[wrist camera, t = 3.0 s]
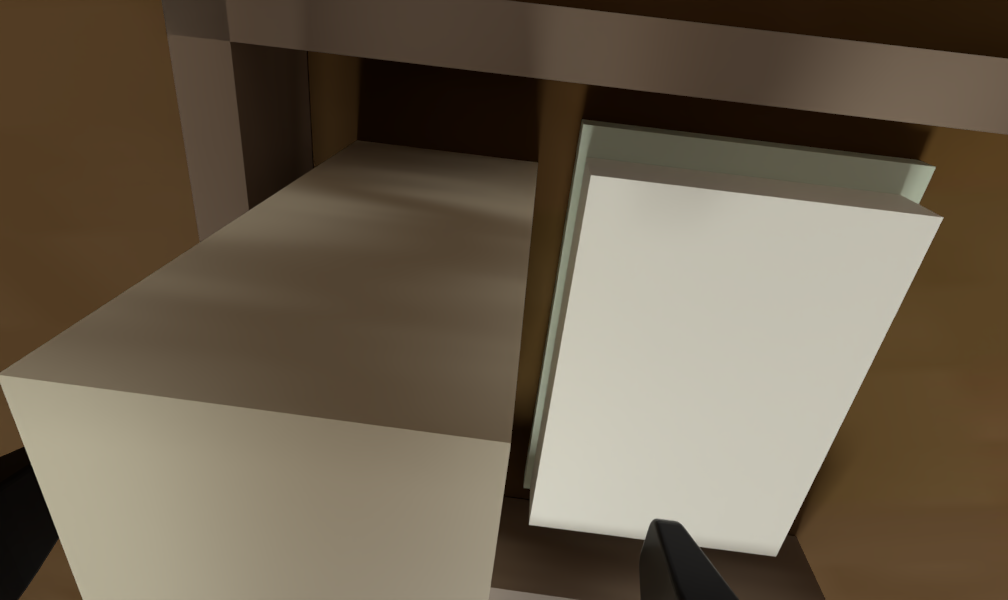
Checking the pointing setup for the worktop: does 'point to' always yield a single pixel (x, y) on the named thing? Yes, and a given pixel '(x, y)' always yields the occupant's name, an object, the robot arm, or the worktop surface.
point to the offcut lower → (718, 158)
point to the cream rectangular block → (298, 394)
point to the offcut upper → (712, 347)
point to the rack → (554, 56)
